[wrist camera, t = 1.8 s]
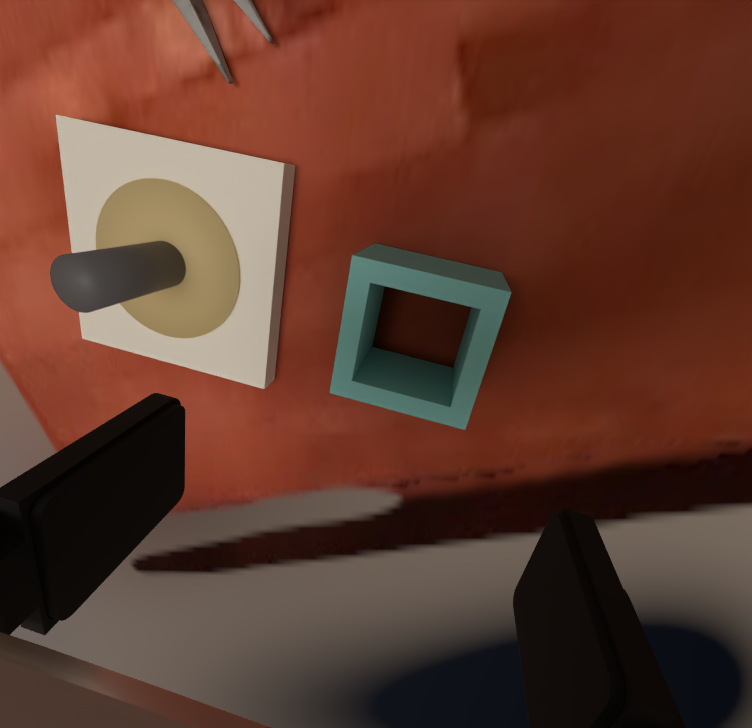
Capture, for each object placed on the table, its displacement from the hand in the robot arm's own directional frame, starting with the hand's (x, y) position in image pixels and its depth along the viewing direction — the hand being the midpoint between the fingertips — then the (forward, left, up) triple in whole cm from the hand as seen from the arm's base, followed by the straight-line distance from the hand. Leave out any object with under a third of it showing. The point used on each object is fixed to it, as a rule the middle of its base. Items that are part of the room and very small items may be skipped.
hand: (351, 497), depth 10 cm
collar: (0, 0, -15) cm, 15 cm away
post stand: (+15, 0, -15) cm, 21 cm away
